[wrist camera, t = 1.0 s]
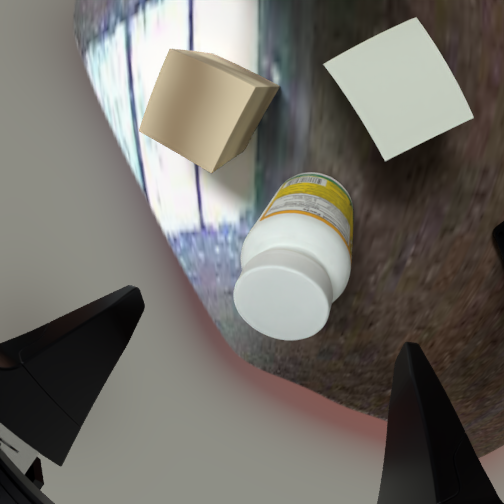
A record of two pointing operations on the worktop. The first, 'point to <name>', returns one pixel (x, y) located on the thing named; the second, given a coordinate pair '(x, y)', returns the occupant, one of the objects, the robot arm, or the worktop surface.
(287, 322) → the supplement bottle
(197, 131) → the maple block
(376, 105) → the white cube
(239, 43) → the worktop surface
